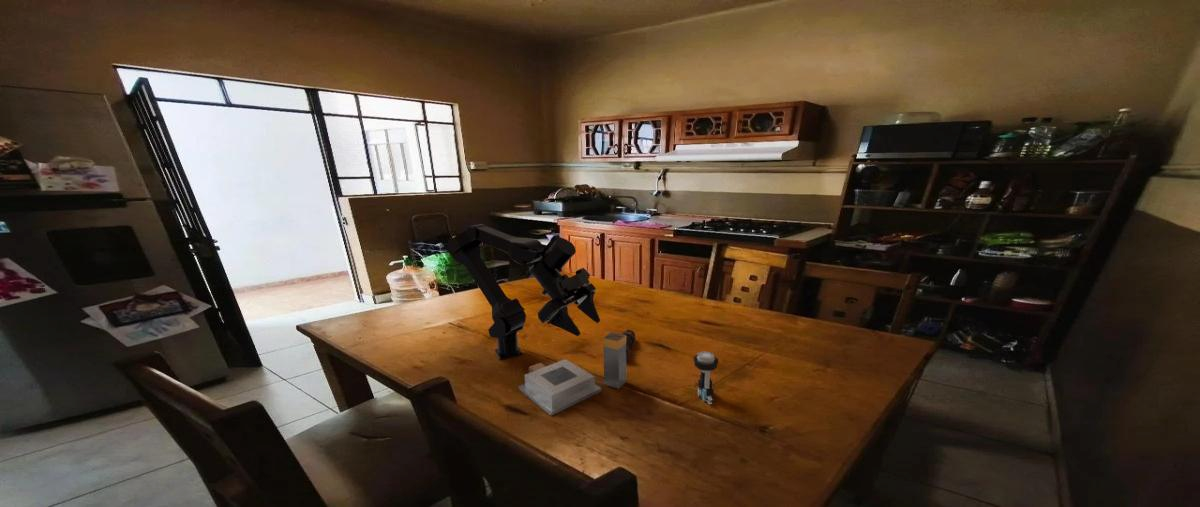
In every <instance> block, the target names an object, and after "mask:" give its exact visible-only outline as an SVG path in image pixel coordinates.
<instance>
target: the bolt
mask: <svg viewBox="0 0 1200 507" xmlns="http://www.w3.org/2000/svg"><path fill="white" fill-rule="evenodd" d="M621 334H623V335H626V363H627V362H628V360H629V359H630V357H631V355H632V351H631V349H630V348H632V347H633V346H634V344H635V342H636V341H637V339H636V334H635V332H634V331H633V330H631V329H626V330H625V331H622V333H621Z"/></svg>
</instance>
